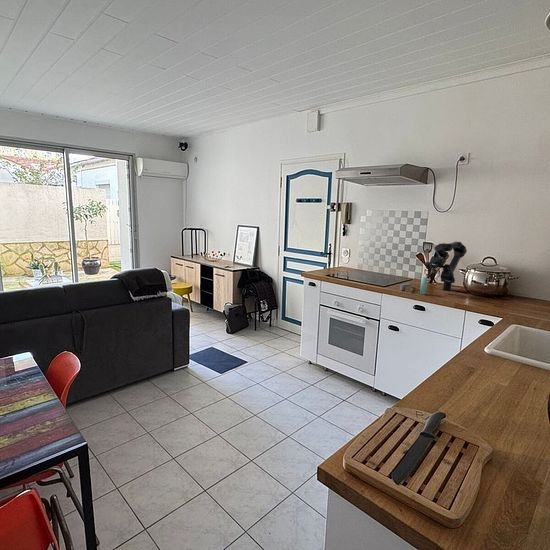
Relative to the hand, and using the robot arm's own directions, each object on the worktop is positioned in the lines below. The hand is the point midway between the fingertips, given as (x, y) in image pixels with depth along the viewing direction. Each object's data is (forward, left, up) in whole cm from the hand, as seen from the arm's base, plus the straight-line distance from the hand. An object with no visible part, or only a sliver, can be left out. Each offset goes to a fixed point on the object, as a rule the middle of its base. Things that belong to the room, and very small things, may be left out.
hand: (434, 276), depth 258 cm
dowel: (+4, -7, -13) cm, 15 cm away
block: (-2, -14, -13) cm, 19 cm away
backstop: (-6, -19, -13) cm, 24 cm away
